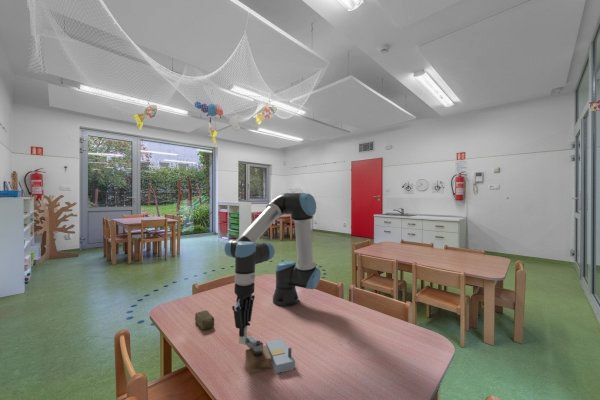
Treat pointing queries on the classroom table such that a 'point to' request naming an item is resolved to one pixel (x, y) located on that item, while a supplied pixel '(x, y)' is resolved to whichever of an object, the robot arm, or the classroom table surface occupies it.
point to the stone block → (204, 320)
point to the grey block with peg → (280, 355)
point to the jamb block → (258, 361)
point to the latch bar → (254, 345)
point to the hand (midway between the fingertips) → (242, 343)
